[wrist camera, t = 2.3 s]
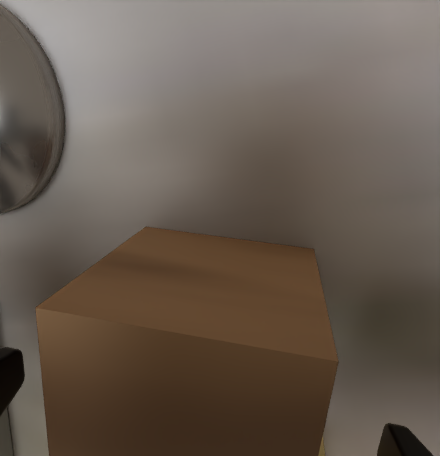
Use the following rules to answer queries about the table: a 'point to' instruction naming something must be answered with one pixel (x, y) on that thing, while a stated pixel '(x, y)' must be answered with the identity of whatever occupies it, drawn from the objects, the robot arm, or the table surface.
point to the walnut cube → (188, 351)
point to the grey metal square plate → (5, 435)
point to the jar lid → (26, 115)
